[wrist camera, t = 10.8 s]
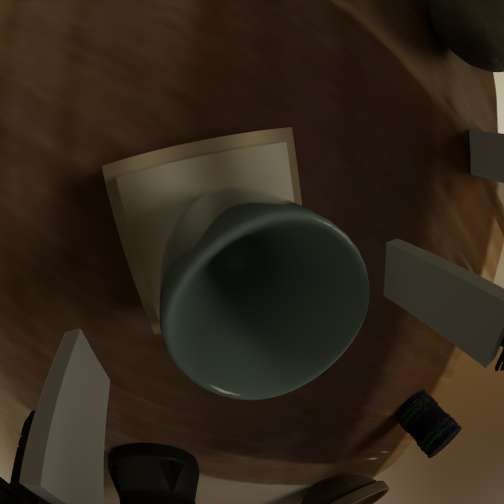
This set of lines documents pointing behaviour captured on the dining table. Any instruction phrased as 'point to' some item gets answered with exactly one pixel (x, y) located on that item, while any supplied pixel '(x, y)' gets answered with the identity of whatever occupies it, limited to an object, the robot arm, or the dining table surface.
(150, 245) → the pedestal
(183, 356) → the cup
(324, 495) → the flower pot
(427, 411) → the storage jar
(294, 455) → the dining table surface
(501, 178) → the milk carton
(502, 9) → the black ball
